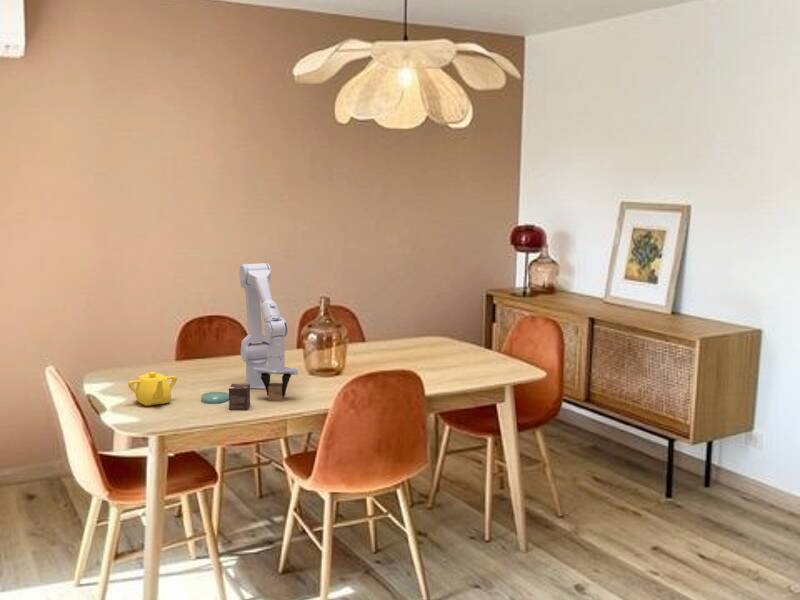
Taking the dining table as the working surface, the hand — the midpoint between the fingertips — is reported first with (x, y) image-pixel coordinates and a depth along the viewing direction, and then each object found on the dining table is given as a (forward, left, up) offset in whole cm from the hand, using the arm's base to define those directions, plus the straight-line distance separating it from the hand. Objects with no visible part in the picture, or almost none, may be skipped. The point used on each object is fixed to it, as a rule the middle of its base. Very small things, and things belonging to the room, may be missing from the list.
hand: (276, 395), depth 276 cm
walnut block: (0, 0, -2) cm, 2 cm away
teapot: (+8, -39, -2) cm, 40 cm away
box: (+11, -10, -2) cm, 15 cm away
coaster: (+3, -20, -2) cm, 20 cm away
